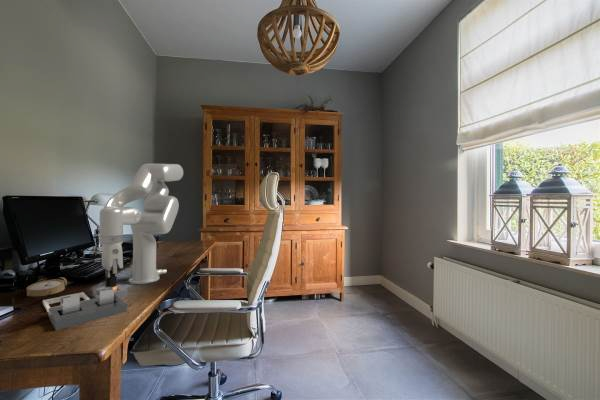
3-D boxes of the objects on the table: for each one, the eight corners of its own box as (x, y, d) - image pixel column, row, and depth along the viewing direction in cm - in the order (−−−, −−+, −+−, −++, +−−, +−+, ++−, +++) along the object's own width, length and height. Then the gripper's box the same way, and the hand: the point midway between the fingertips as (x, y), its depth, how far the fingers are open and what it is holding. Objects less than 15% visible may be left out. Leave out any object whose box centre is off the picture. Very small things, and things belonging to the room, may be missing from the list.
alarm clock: (19, 292, 102) (38, 275, 115) (21, 304, 103) (39, 285, 116) (58, 288, 106) (71, 272, 120) (58, 300, 107) (72, 282, 121)
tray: (83, 295, 106) (83, 292, 106) (90, 303, 99) (90, 299, 99) (42, 304, 98) (42, 300, 98) (47, 313, 90) (47, 309, 90)
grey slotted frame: (113, 302, 101) (114, 294, 101) (126, 312, 92) (126, 304, 92) (48, 317, 87) (48, 308, 87) (55, 332, 78) (55, 321, 78)
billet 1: (76, 314, 89) (76, 293, 89) (79, 318, 86) (79, 296, 86) (59, 318, 86) (60, 296, 85) (62, 322, 83) (62, 299, 83)
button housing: (120, 291, 111) (120, 284, 111) (127, 297, 106) (127, 289, 106) (93, 297, 105) (93, 290, 105) (99, 304, 99) (99, 295, 99)
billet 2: (110, 306, 96) (110, 286, 96) (113, 309, 93) (113, 288, 93) (95, 309, 93) (96, 289, 93) (99, 313, 90) (99, 291, 90)
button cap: (115, 290, 108) (115, 284, 108) (118, 293, 105) (118, 286, 105) (103, 293, 105) (103, 287, 105) (106, 295, 102) (106, 289, 102)
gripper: (128, 240, 103) (128, 288, 103) (116, 236, 113) (116, 280, 113) (105, 243, 97) (105, 293, 98) (94, 238, 107) (94, 284, 107)
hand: (111, 286), depth 105 cm, fingers closed
